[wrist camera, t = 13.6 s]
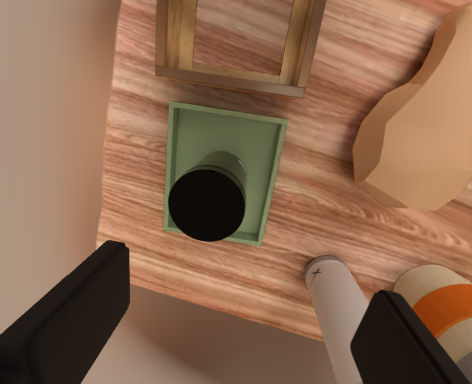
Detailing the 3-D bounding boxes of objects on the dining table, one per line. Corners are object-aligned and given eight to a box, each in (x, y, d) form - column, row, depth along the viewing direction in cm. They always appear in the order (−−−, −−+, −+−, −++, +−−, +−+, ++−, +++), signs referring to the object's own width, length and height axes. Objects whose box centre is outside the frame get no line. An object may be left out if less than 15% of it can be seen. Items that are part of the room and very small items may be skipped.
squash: (326, 184, 30) (344, 195, 21) (397, 19, 26) (456, -52, 17) (410, 214, 28) (468, 239, 20) (500, 44, 24) (624, -19, 16)
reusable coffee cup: (487, 295, 33) (661, 430, 19) (406, 333, 37) (503, 472, 22) (446, 237, 31) (610, 342, 17) (363, 284, 34) (441, 405, 20)
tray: (176, 101, 27) (168, 100, 25) (284, 118, 27) (288, 119, 25) (170, 221, 33) (163, 230, 30) (260, 235, 33) (261, 246, 30)
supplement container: (185, 166, 29) (151, 194, 19) (229, 139, 28) (217, 153, 18) (214, 208, 31) (196, 253, 21) (257, 184, 29) (260, 220, 20)
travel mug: (299, 258, 33) (358, 446, 15) (345, 251, 33) (473, 443, 14) (304, 292, 35) (362, 496, 17) (348, 286, 34) (463, 496, 16)
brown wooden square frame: (179, -84, 22) (159, -138, 17) (330, -63, 22) (351, -111, 17) (171, 81, 27) (154, 75, 22) (294, 100, 27) (304, 98, 22)
